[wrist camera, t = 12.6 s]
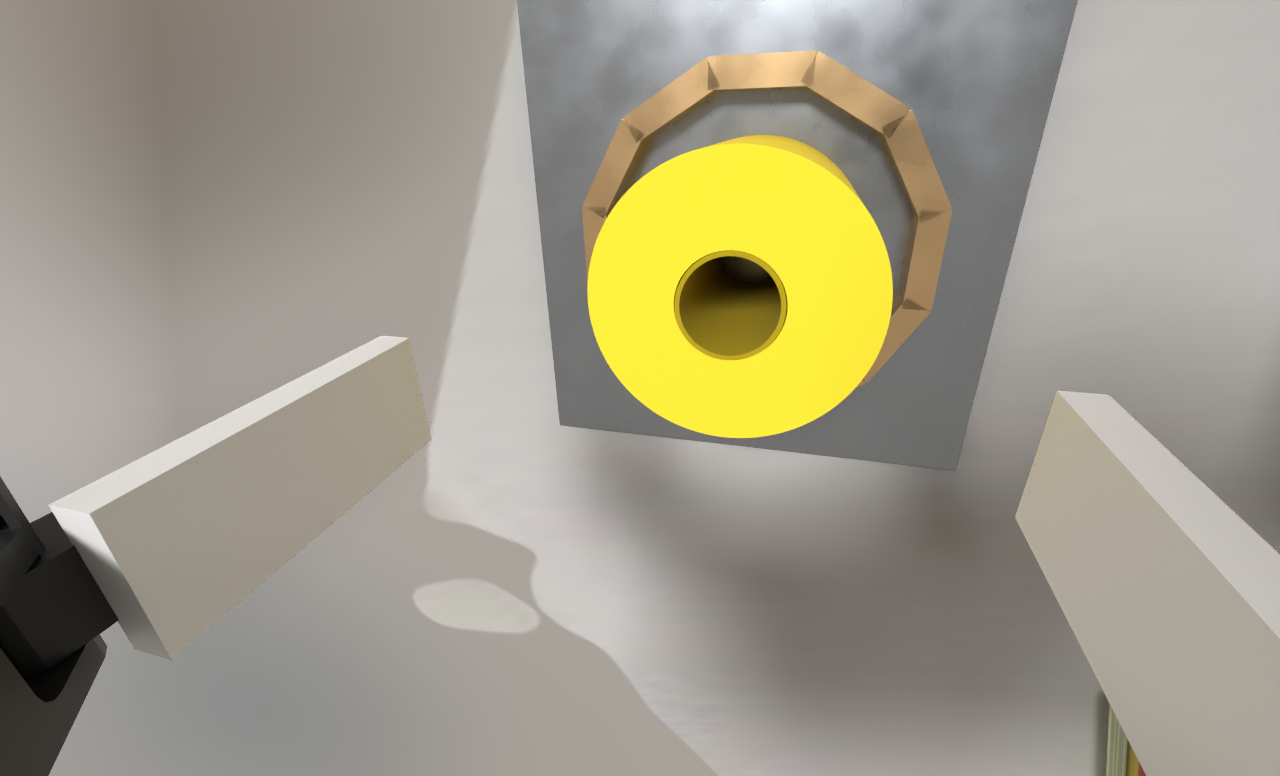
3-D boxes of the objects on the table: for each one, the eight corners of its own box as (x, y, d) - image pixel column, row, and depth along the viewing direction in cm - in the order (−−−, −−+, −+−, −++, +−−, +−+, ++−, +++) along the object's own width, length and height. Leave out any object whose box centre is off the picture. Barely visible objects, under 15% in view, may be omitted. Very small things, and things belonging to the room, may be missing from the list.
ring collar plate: (1081, -55, 20) (1114, -75, 18) (950, 460, 30) (962, 487, 27) (526, -3, 26) (500, -14, 23) (566, 417, 35) (550, 437, 33)
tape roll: (680, 109, 25) (618, 105, 17) (904, 168, 24) (954, 195, 15) (633, 313, 30) (567, 387, 22) (816, 371, 28) (820, 474, 20)
